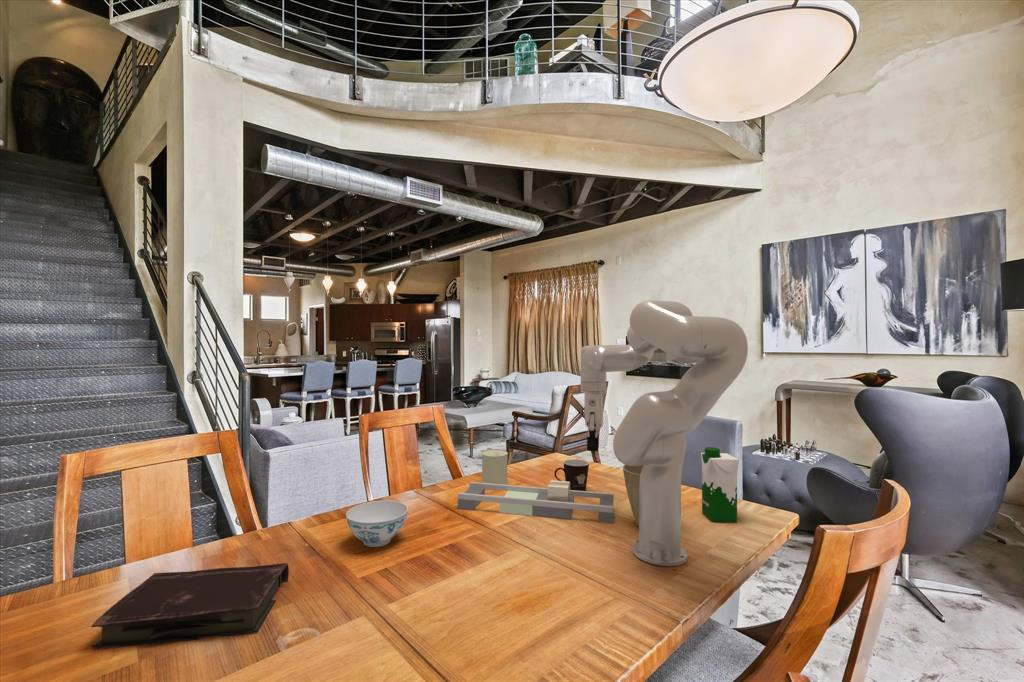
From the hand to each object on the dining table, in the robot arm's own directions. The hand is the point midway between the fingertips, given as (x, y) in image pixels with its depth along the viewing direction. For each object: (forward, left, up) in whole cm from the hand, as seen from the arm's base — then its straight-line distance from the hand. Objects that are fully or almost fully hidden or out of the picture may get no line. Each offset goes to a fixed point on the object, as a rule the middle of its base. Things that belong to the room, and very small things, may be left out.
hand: (592, 448), depth 133 cm
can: (+18, +35, -19) cm, 44 cm away
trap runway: (0, +17, -19) cm, 26 cm away
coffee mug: (+18, +8, -19) cm, 28 cm away
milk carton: (+6, -36, -19) cm, 41 cm away
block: (0, +10, -16) cm, 19 cm away
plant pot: (-5, -16, -19) cm, 26 cm away
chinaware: (-32, +52, -19) cm, 64 cm away
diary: (-67, +68, -20) cm, 98 cm away
